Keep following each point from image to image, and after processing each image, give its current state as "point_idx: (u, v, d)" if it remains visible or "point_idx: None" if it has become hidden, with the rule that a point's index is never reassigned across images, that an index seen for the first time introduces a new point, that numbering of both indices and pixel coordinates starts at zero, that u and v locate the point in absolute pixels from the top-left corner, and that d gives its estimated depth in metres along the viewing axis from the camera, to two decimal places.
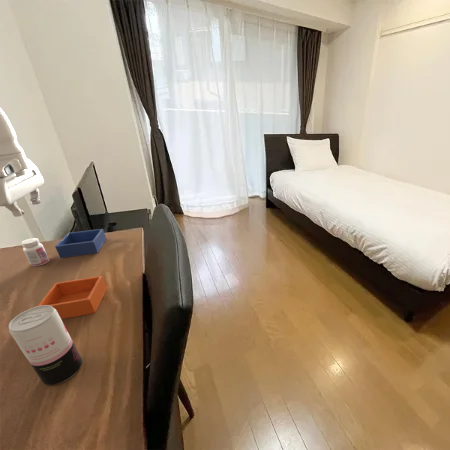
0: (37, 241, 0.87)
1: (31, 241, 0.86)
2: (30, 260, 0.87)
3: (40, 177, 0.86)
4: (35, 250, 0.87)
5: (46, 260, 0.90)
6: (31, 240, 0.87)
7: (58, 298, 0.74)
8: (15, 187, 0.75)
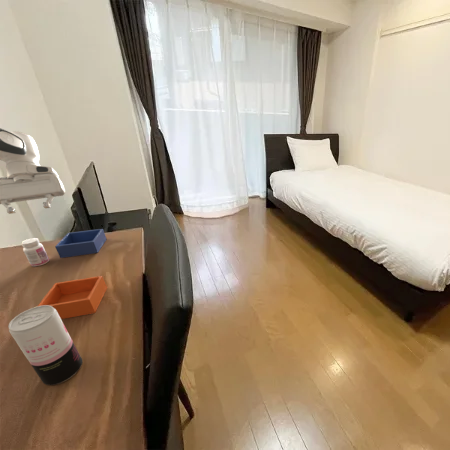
0: (37, 241, 0.87)
1: (31, 241, 0.86)
2: (30, 260, 0.87)
3: None
4: (35, 250, 0.87)
5: (46, 260, 0.90)
6: (31, 240, 0.87)
7: (58, 298, 0.74)
8: None
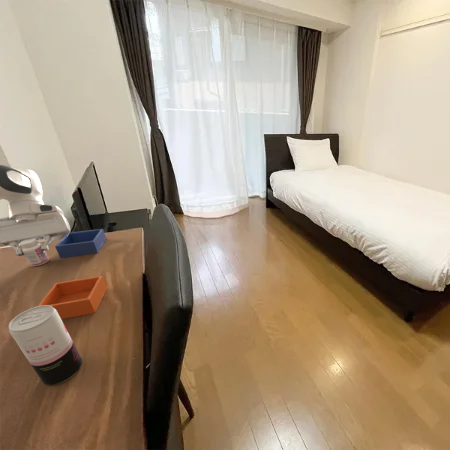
0: (35, 241, 0.87)
1: (29, 241, 0.86)
2: (29, 260, 0.87)
3: None
4: (34, 250, 0.87)
5: (46, 260, 0.90)
6: (29, 240, 0.86)
7: (58, 298, 0.74)
8: None
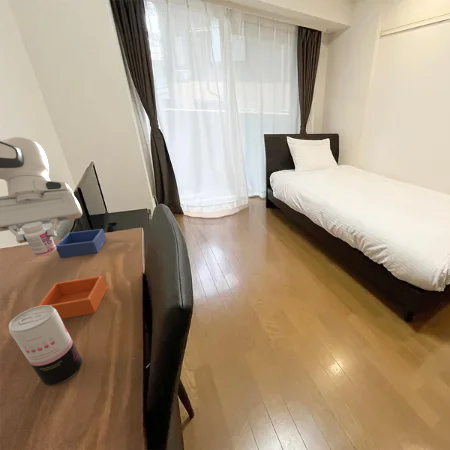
0: (41, 225, 0.71)
1: (33, 225, 0.70)
2: (33, 248, 0.71)
3: None
4: (38, 236, 0.71)
5: (53, 248, 0.74)
6: (33, 224, 0.70)
7: (58, 298, 0.74)
8: None
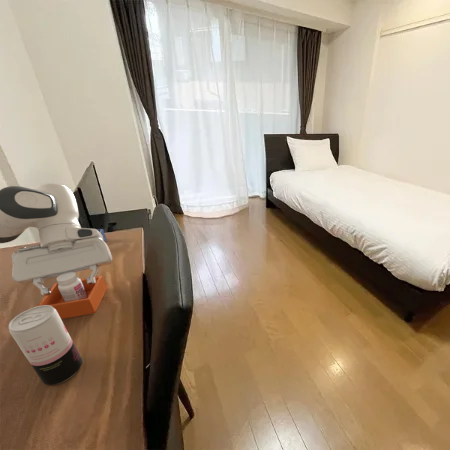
0: (75, 276, 0.70)
1: (68, 277, 0.69)
2: (66, 300, 0.70)
3: None
4: (73, 288, 0.70)
5: (85, 298, 0.73)
6: (68, 276, 0.70)
7: (58, 298, 0.74)
8: None
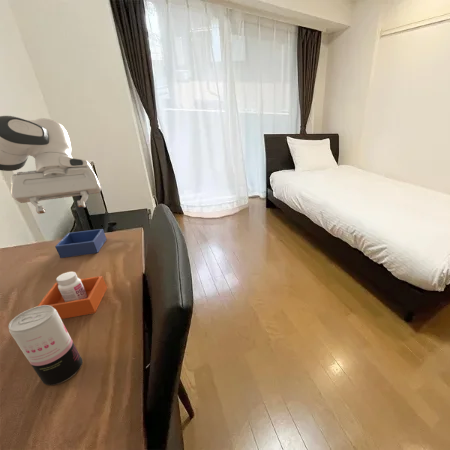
0: (75, 276, 0.70)
1: (68, 277, 0.69)
2: (66, 300, 0.70)
3: None
4: (73, 288, 0.70)
5: (85, 298, 0.73)
6: (68, 276, 0.70)
7: (58, 298, 0.74)
8: None
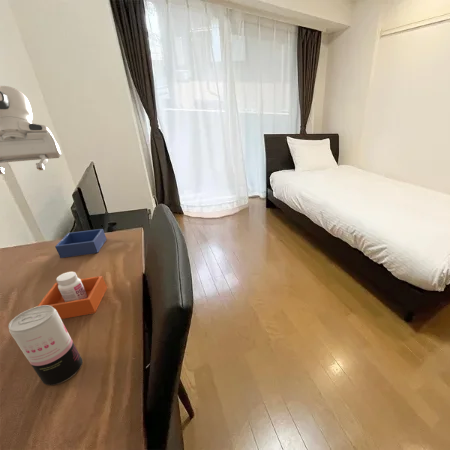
0: (75, 276, 0.70)
1: (68, 277, 0.69)
2: (66, 300, 0.70)
3: None
4: (73, 288, 0.70)
5: (85, 298, 0.73)
6: (68, 276, 0.70)
7: (58, 298, 0.74)
8: None
